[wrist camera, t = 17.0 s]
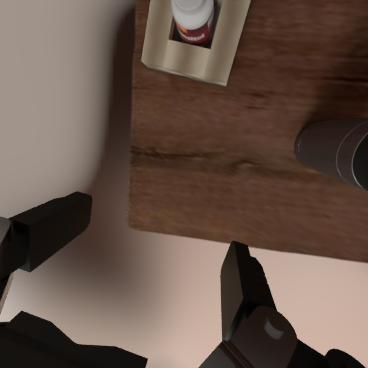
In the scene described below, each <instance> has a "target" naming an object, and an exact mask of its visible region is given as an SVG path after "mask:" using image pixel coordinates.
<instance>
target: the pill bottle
mask: <svg viewBox="0 0 368 368" xmlns="http://www.w3.org/2000/svg"><path fill="white" fill-rule="evenodd" d="M171 8H172V13H173V16H174V19H175V22H176V24H177V27H178V30H179V33H180V36H181V38H182V40H183V42H184V43H186V44H190V45H194V46H199V47H203V46H204V45H206V44H207V43H208V42H209V40H210V38H211V36H212V34H213V29H214V0H171Z"/></svg>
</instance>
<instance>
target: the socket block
mask: <svg viewBox="0 0 368 368" xmlns="http://www.w3.org/2000/svg"><path fill="white" fill-rule="evenodd" d="M250 2H251V0H214V29H213V34H212V36H211V38H210V40H209V42H208V43H207V44H206V45H204V46H203V47H199V46H194V45H190V44H186V43H184V42H183V40H182V38H181V36H180V33H179V30H178V27H177V24H176V22H175V19H174V16H173V13H172V8H171V0H151V2H150V8H149V15H148V21H147V28H146V34H145V40H144V47H143V53H142V60H141V61H142V62H143V63H144V64H145V65H146V66H147V67H148V68H149V69H153V70H157V71H161V72H165V73H169V74H173V75H177V76H182V77H186V78H190V79H194V80H198V81H202V82H206V83H210V84H214V85H218V86H222V87H226V84H227V81H228V78H229V74H230V71H231V67H232V64H233V60H234V57H235V54H236V50H237V47H238V43H239V40H240V36H241V33H242V29H243V26H244V23H245V19H246V16H247V12H248V9H249V5H250Z"/></svg>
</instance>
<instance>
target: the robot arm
mask: <svg viewBox="0 0 368 368" xmlns="http://www.w3.org/2000/svg"><path fill="white" fill-rule="evenodd" d="M294 150H295V155H296V158H297V159H298V160H299V162H300V163H302V164H303V165H305V166H307V167H309V168H311V169H314V170H316V171H318V172H321V173H323V174H326V175H328V176H331V177H333V178H335V179H338V180H340V181H343V182H345V183H348V184H350V185H353V186H355V187H358V188H360V189H362V190H365V191H367V192H368V118H357V119H343V120H329V121H319V122H316V123H313V124H311V125H309V126H307V127H306V128H305V129H303V130H302V132H301V133H300V134H299V135H298V137H297V139H296V142H295V147H294ZM91 208H92V196H91V195H87V194H84V193H81V192H74V193H72V194H70V195H68V196H66V197H61V198H56V199H53V200H50V201H48V202H46V203H45V204H41V205H39V206H37V207H34V208H32V209H29V210H27V211H25V212H22V213H20V214H18V215H15V216H13V217H11V218H8V219H7V218H4V217H0V314H1V311H2V308H3V305H4V302H5V299H6V297H7V294H8V291H9V288H10V285H11V283H12V280H13V272H14V271H15V270H17V269H18V268H19V269H22V270H25V271H27V272H31V271H33V270H34V269H35V268H37V267H38V266H39V265H41V264H42V263H43V262H44V261H46V260H47V259H48V258H50V257H51V256H52V255H53V254H55V253H56V252H57V251H59V250H60V249H61V248H63V247H64V246H65V245H67V244H68V243H69V242H70V241H72V240H73V239H74V238H76V237H77V236H78V235H79V234H81V233H82V232H83V231H85V230H86V228H87V227H88V225H89V223H90V217H91ZM220 278H221V311H222V342H221V343H220V344H219V345H218V346H217V348H216V349H215V350H214V351H213V352H212V353H211V354H210V355H209V356H208V358H207V359H206V360H205V361H204V362H203V363H202V364H201V366H200V367H199V368H365V367H364V366H363V365H362V364H361V363H360V362H359V361H357V360H356V359H355V358H353V357H352V356H351V355H349V354H347V353H346V352H343V351H341V350H338V349H331V350H329V351H328V352H327V354H326V355H325V356H323V355H321V354H320V353H319V352H317V351H316V350H314V349H312V348H311V347H309V346H308V345H306V344H305V343H303V342H302V341H300V340H299V339H297V335H296V333H295V330H294V328H293V327H292V325H291V324H290V323H289V321H288V320H287V319H286V318H285V317H284V316H283V315H282V314H280V313H279V312H278V311H277V309H276V306H275V304H274V301H273V298H272V295H271V291H270V288H269V285H268V284H267V279H266V277H265V273H264V271H263V268H262V266H261V264H260V263H259V262H258V260H257V259H256V258H255V257H251V256H250V252H249V248H248V245H246V244H243V243H239V242H236V241H232V242H231V244H230V247H229V249H228V252H227V255H226V257H225V259H224V262H223V265H222V268H221V276H220ZM147 360H148V359H147V358H145V357H142V356H139V355H136V354H134V353H131V352H129V351H126V350H124V349H121V348H118V347H116V346H99V345H81V344H76V343H75V342H73V341H72V340H71V339H70V338H69V337H67V336H66V335H65V334H64V333H63V332H62V331H61V330H60V329H59V328H57V327H56V326H55V325H54V324H53V323H52V322H50V321H47V320H45V319H42V318H40V317H36V316H34V315H31V314H29V313H26V312H24V311H21V312H20V313H18V314H17V315H16V316H15V317H14V318H13V319H12V320H11V321H10V322H0V368H145V367H146V364H147Z"/></svg>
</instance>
